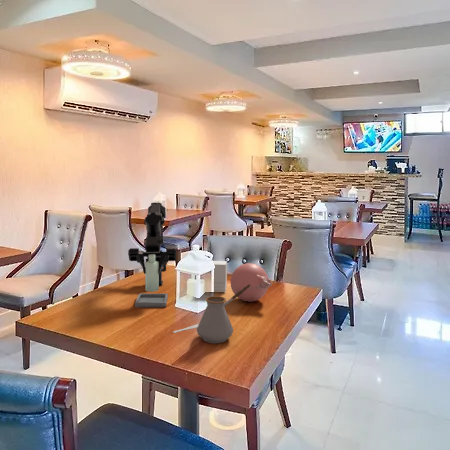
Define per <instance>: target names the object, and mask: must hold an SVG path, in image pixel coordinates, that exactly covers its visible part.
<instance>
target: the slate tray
mask: <svg viewBox="0 0 450 450" xmlns="http://www.w3.org/2000/svg"><path fill="white" fill-rule="evenodd" d="M168 295H169V294H168V293H138V296H137V298H136V299H135V302H134V308H166V307H167V302H168V297H169V296H168Z"/></svg>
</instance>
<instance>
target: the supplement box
mask: <svg viewBox="0 0 450 450" xmlns="http://www.w3.org/2000/svg"><path fill="white" fill-rule="evenodd" d="M212 261H213V263H214V265H215V269H214V292H225V293H226V292H227V289H226V288H227V287H228V286H227V285H228V284H227V281H228V280H227V279H228V261H227V260H212ZM214 292H213V293H214Z"/></svg>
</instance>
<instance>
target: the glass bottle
mask: <svg viewBox="0 0 450 450" xmlns="http://www.w3.org/2000/svg"><path fill="white" fill-rule="evenodd" d="M144 276H145V277H144V279H145V284H144V285H145V287H144V288H145V291H146V292H149V293H152V292H154V293H155V292H158V291H159V290H160V286H159V262H158V261H155V254H149V261H147V262H146V261H145V274H144Z"/></svg>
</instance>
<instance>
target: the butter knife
mask: <svg viewBox="0 0 450 450" xmlns="http://www.w3.org/2000/svg"><path fill="white" fill-rule="evenodd" d="M198 325H199V323H197V324H194V325H190V326H187V327H185V328H181V329H178V330H173V331H172V333H174V334H175V333H176V334H177V333H179V332H183V331H184V332H185V331H187V330H193V329H197V327H198Z"/></svg>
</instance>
